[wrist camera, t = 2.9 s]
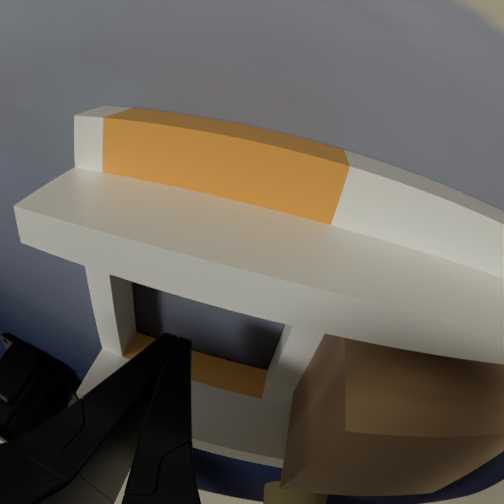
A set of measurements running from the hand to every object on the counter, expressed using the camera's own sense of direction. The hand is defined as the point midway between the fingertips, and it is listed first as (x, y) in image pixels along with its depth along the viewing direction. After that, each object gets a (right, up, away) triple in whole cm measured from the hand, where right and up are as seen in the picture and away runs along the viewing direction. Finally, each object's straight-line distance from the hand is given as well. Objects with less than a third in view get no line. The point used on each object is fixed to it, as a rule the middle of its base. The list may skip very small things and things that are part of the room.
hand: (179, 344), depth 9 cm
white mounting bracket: (+7, 0, +2) cm, 8 cm away
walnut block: (+7, -1, +1) cm, 7 cm away
